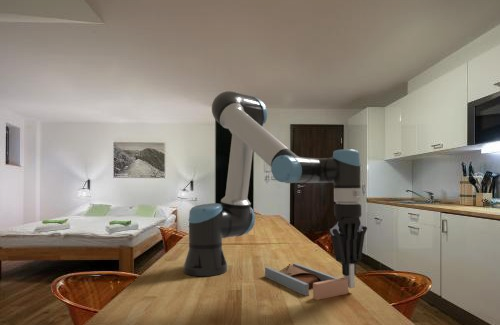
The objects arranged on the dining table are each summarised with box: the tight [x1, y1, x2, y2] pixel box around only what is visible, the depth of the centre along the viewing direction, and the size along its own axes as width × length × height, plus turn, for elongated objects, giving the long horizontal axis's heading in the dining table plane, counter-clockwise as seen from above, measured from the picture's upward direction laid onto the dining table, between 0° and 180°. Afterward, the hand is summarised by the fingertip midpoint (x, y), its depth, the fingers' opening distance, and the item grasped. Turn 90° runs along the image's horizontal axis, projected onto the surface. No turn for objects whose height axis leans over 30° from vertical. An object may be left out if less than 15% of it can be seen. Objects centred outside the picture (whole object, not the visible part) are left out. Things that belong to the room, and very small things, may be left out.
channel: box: [264, 262, 339, 297], centre depth 105 cm, size 12×22×3 cm, turn 28°
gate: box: [312, 277, 349, 301], centre depth 92 cm, size 11×2×4 cm, turn 118°
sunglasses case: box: [279, 263, 321, 290], centre depth 106 cm, size 18×7×7 cm
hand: (349, 286), depth 96 cm, fingers closed
